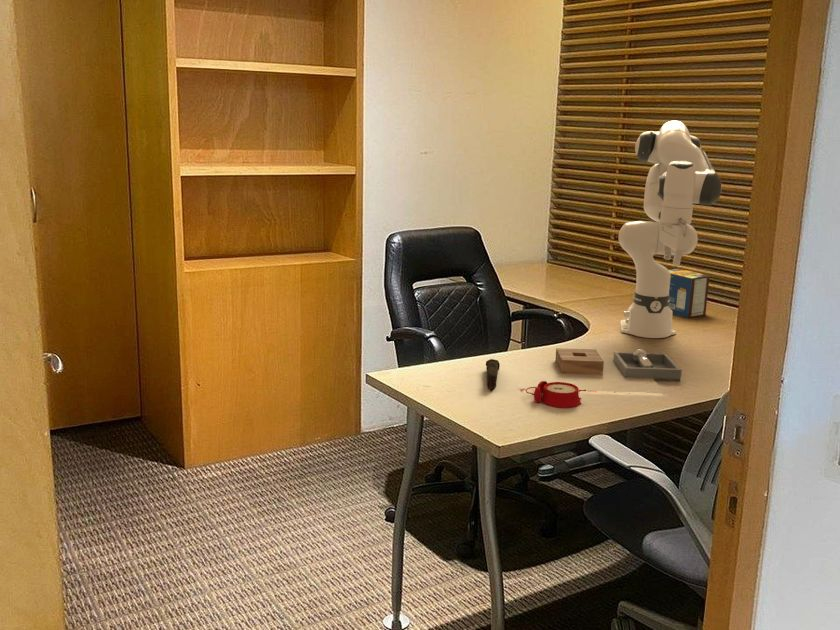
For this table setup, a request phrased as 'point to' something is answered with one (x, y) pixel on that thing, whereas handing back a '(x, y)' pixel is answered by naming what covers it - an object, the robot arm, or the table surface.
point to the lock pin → (642, 358)
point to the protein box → (688, 293)
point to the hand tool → (492, 373)
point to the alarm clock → (557, 394)
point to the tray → (661, 368)
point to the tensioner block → (579, 361)
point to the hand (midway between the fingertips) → (671, 262)
